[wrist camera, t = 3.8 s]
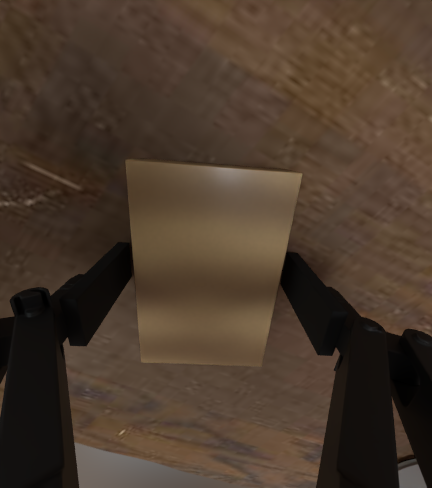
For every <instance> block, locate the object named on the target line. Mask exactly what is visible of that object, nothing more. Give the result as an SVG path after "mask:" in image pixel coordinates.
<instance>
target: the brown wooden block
mask: <svg viewBox="0 0 432 488" xmlns="http://www.w3.org/2000/svg"><path fill="white" fill-rule="evenodd" d="M125 162H126V175H127V188H128V200H129V213H130V226H131V239H132V251H133V264H134V277H135V290H136V302H137V315H138V328H139V341H140V354H141V362H147V363H176V364H204V365H232V366H262V362H263V357H264V352H265V348H266V343H267V338H268V334H269V329H270V324H271V320H272V315H273V310H274V306H275V301H276V296H277V292H278V287H279V282H280V278H281V273H282V268H283V264H284V259H285V254H286V250H287V245H288V240H289V236H290V231H291V226H292V222H293V217H294V212H295V208H296V203H297V198H298V194H299V189H300V184H301V180H302V175H303V173H300V172H295V171H291V170H286V169H276V168H263V167H250V166H237V165H224V164H211V163H198V162H185V161H173V160H160V159H147V158H140V159H126V160H125Z"/></svg>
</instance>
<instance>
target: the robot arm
mask: <svg viewBox="0 0 432 488" xmlns="http://www.w3.org/2000/svg"><path fill="white" fill-rule="evenodd" d="M131 277H132V272H131V260H130V248H129V243H122V242H118V243H117V244H116V245H115V246H114V247H113V248H112V249H111V250H110V251H109V252H107V253H106V254H105V255H104V256H103V257H102V258H101V259H100V260H99V261H98V262H97V263H96V264H95V265H94V266H93V267H92V268H91V269H90V270H89V271H88V272H87V273H85V274H78V275H77V276H75V277H73V278H71V279H69V280H68V281H67V282H66V283H65V284H64V285H63V286H61V287H60V288H59V289H58V290H57V291H56V292H55V293H54V294H52V295H51V296H50V293H49V291H48V289H46V288H41V287H37V288H30V289H27V290H24V291H21V292H19V293H17V294H16V295H14V296H13V297H12V298H11V299H10V304H11V307H12V310H13V312H14V315H15V316H14V317H8V318H1V319H0V383H1V381H2V379H3V377H4V375H5V373H6V371H7V375H6V382H5V389H4V396H3V403H2V410H1V417H0V488H79V482H78V473H77V463H76V455H75V446H74V436H73V427H72V418H71V409H70V400H69V391H68V382H67V373H66V364H65V355H64V348H63V344H62V343H63V342H64V341H65V340H66V338H67V337H68V339H69V343H70V346H87V344H88V343H89V341H90V340H91V338H92V337H93V335H94V334H95V332H96V330H97V329H98V327H99V326H100V324H101V323H102V321H103V320H104V318H105V317H106V315H107V314H108V312H109V310H110V309H111V307H112V306H113V304H114V303H115V301H116V300H117V298H118V297H119V295H120V294H121V292H122V290H123V289H124V287H125V286H126V284H127V283H128V281H129V280H130V278H131ZM280 284H281V286H282V288H283V290H284V292H285V294H286V296H287V298H288V299H289V301H290V303H291V305H292V307H293V309H294V311H295V313H296V315H297V317H298V318H299V320H300V322H301V324H302V326H303V328H304V330H305V332H306V334H307V336H308V337H309V339H310V341H311V343H312V345H313V347H314V349H315V351H316V353H317V355H325V356H332V355H333V353H334V350H335V348H337V349H338V351H339V352H340V356H339V358H338V361H337V363H336V366H335V368H334V371H336V374H335V380H334V386H333V392H332V397H331V403H330V409H329V415H328V421H327V427H326V433H325V438H324V444H323V450H322V456H321V462H320V468H319V474H318V479H317V485H316V488H400V485H399V474H398V463H397V452H396V440H395V429H394V418H393V407H392V398H393V400H394V403H395V406H396V408H397V411H398V413H399V416H400V419H401V421H402V424H403V426H404V429H405V432H406V434H407V437H408V439H409V442H410V445H411V447H412V450H413V452H414V455H415V458H416V460H417V463H418V465H419V468H420V471H421V473H422V476H423V478H424V481H425V484H426V486H427V488H432V337H431V336H430V335H428V334H425V333H424V332H421V331H418V330H414V329H405V331H404V332H403V334H402V336H399V335H395V334H391V333H387V332H385V330H384V328H383V327H382V326H381V325H379V324H378V323H376V322H375V321H373V320H371V319H368V318H364V317H361V316H360V315H359V314H358V313H357V312H356V310H355V309H354V308H353V307H352V306H351V305H350V304H349V303H348V302H347V301H346V300H345V299H344V297H343V296H342V295H341V294H340V293H339V292H338V291H336V290H335V289H333V288H332V287H326V286H325V285H324V283H323V282H322V281H321V280H320V279H319V278H318V277H317V275H316V274H315V273H314V272H313V271H312V270H311V268H310V267H309V266H308V265H307V264H306V263H305V261H304V260H303V259H302V258H301V257H300V256H299V254H298V253H289V252H287V255H286V260H285V265H284V269H283V274H282V279H281V283H280ZM391 395H392V396H391Z"/></svg>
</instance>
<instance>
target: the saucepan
mask: <svg viewBox="0 0 432 488" xmlns="http://www.w3.org/2000/svg"><path fill="white" fill-rule="evenodd" d="M398 474H399V485H400V488H427V486H426V484H425V481H424V478H423V476H422V473H421V471H420V468H419V465H418V463H417V460H416V459H412V460H408V461H405V462H402V463H399V464H398Z"/></svg>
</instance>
